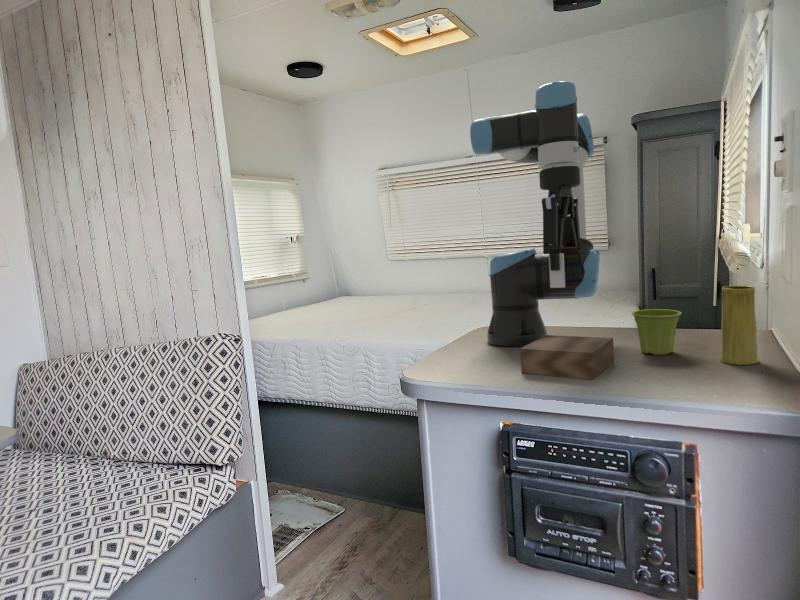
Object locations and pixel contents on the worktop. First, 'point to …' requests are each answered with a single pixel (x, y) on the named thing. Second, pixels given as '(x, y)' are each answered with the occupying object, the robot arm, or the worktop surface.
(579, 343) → the walnut block
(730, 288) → the vase
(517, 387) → the worktop surface
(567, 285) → the mate gourd
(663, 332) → the plant pot
